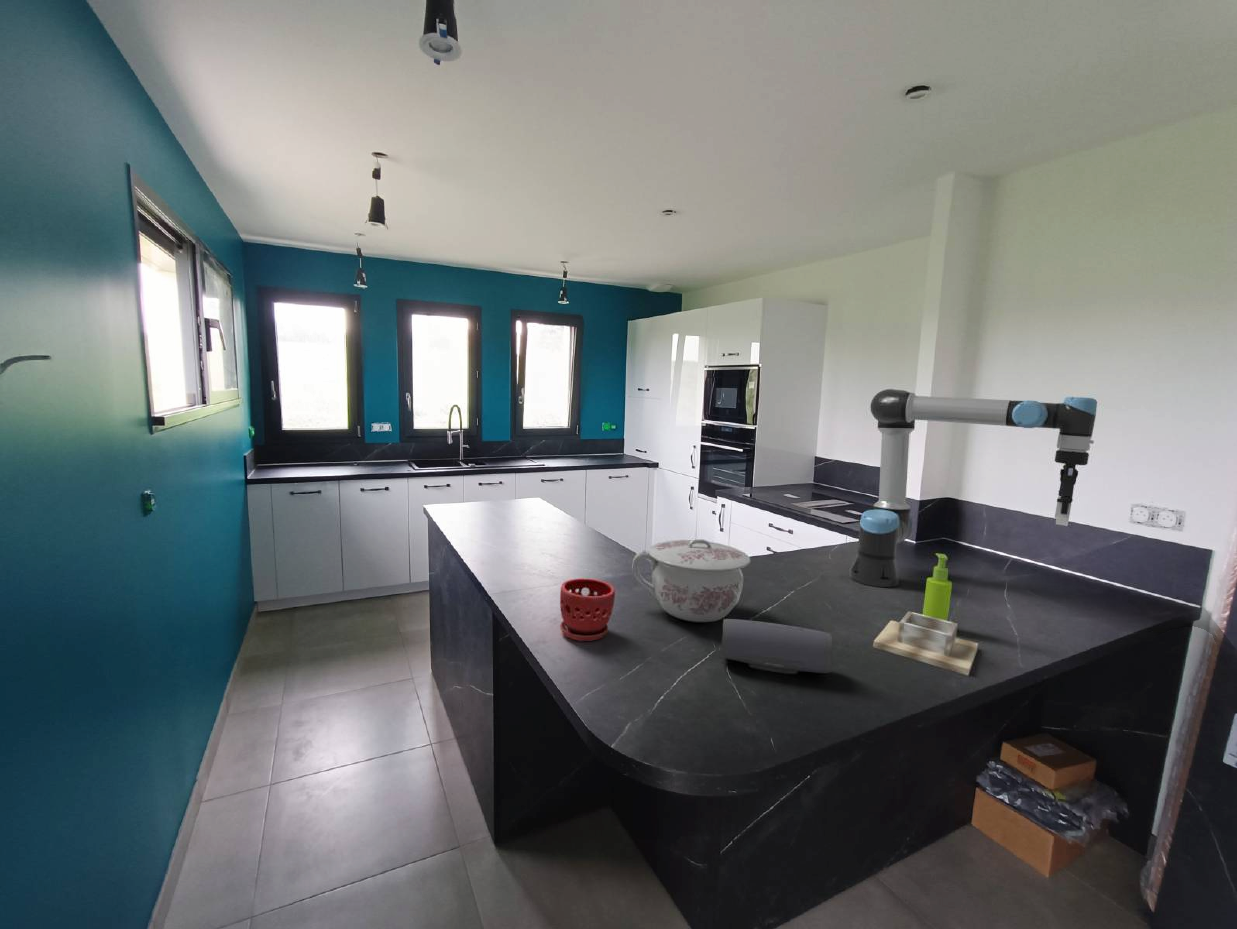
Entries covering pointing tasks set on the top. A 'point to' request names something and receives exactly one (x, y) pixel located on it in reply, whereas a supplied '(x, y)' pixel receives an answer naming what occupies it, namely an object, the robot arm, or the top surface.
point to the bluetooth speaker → (776, 646)
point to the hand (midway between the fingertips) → (1060, 521)
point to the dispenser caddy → (928, 642)
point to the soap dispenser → (938, 591)
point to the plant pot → (586, 609)
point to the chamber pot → (694, 578)
